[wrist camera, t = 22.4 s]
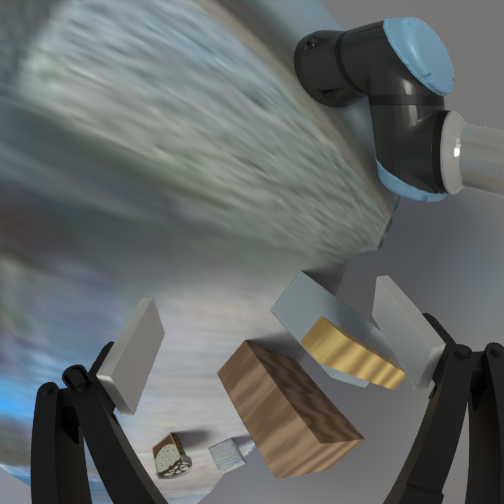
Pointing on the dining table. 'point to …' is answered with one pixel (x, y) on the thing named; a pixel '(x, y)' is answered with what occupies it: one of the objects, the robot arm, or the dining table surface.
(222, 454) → the medicine box
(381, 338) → the light grey tall block
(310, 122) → the dining table surface
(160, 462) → the food container
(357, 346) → the ochre bar
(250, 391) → the tall tower
